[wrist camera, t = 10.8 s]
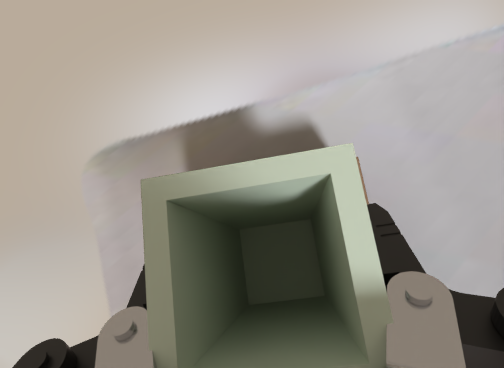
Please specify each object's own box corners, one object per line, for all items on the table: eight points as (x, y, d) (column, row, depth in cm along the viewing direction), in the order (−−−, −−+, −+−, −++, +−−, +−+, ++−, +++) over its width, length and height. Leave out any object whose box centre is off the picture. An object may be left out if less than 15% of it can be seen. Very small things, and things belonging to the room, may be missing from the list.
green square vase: (319, 207, 16) (352, 142, 7) (338, 305, 15) (410, 396, 6) (229, 221, 17) (140, 179, 7) (240, 316, 16) (152, 418, 6)
